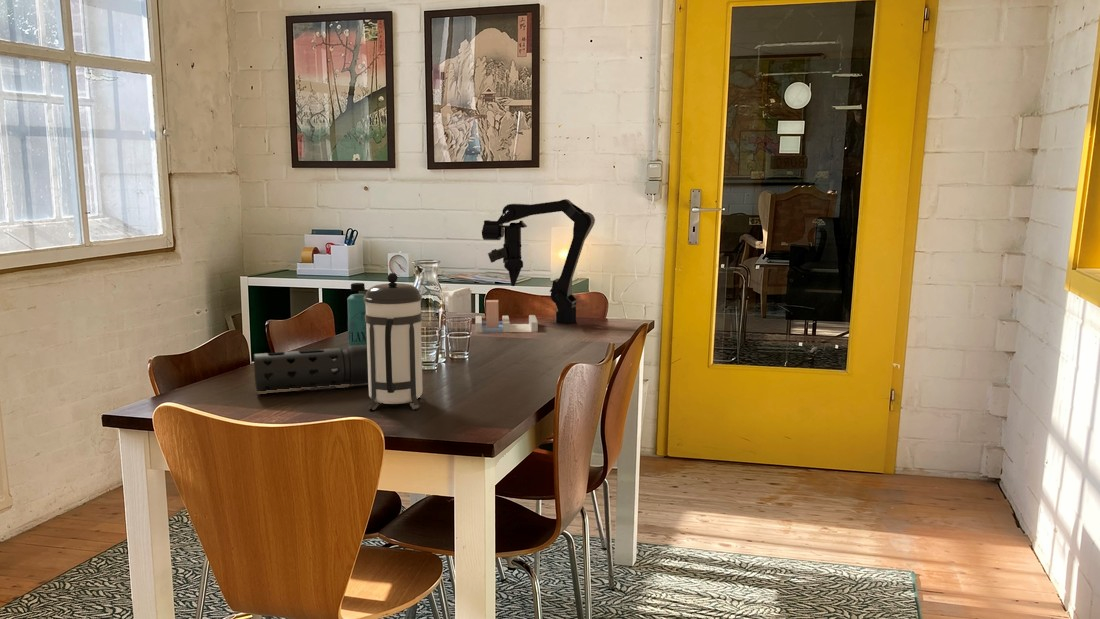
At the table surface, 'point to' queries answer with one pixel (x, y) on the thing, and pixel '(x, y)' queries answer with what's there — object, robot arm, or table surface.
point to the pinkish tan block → (492, 314)
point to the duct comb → (507, 325)
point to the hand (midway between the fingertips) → (512, 285)
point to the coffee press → (394, 342)
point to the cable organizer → (457, 300)
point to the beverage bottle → (357, 316)
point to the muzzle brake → (311, 368)
